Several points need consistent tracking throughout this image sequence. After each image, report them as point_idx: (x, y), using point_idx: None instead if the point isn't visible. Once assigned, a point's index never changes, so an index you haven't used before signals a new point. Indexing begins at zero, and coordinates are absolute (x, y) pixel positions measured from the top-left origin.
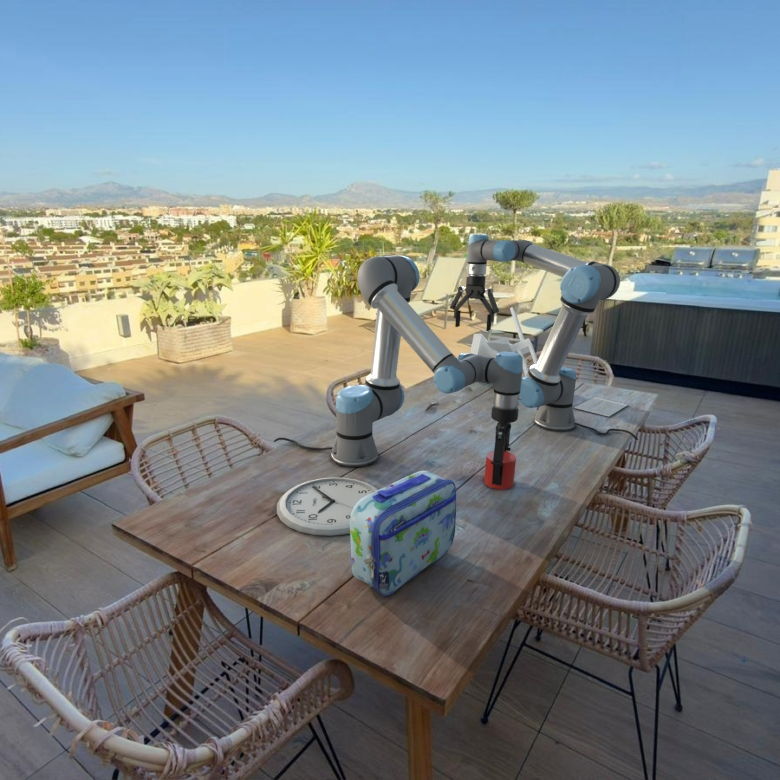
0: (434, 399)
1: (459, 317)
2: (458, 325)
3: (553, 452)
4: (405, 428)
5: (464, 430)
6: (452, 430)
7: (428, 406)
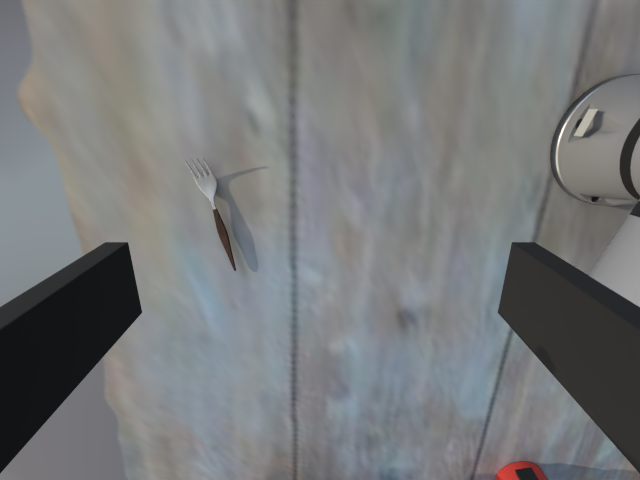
0: (198, 170)
1: (55, 325)
2: (127, 282)
3: None
4: (260, 381)
5: (385, 323)
6: (359, 337)
7: (221, 238)
